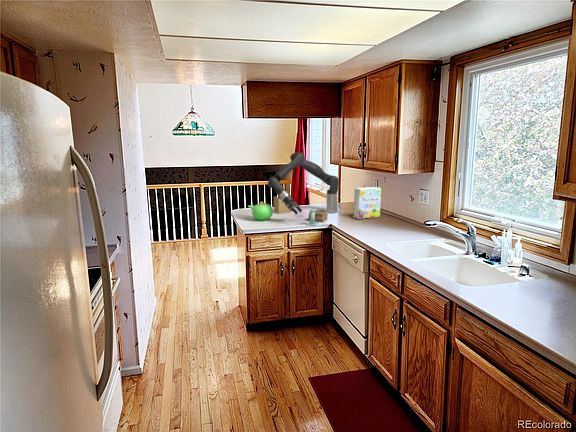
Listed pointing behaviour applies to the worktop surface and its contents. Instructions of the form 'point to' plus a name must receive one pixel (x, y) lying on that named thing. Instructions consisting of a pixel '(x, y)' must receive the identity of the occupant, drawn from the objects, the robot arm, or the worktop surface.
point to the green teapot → (261, 211)
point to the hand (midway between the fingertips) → (299, 212)
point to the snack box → (367, 202)
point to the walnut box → (320, 216)
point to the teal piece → (312, 219)
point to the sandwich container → (280, 206)
